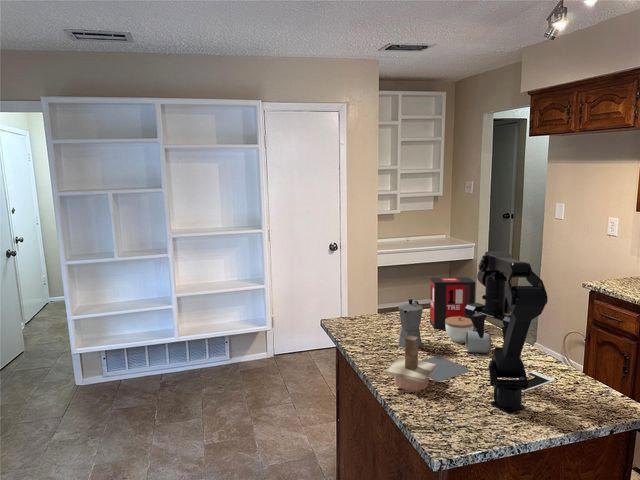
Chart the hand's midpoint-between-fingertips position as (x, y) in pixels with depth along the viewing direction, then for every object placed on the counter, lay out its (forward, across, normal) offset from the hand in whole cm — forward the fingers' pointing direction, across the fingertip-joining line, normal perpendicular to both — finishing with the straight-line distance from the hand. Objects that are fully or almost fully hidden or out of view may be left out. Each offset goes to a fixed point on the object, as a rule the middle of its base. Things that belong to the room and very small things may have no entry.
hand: (493, 342), depth 137 cm
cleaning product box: (+13, +46, -29) cm, 56 cm away
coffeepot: (+13, +38, 0) cm, 40 cm away
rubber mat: (+13, +16, +7) cm, 22 cm away
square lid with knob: (+8, +12, +22) cm, 26 cm away
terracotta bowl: (+13, +12, +22) cm, 28 cm away
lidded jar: (+13, +32, -19) cm, 40 cm away
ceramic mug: (+13, +21, -16) cm, 30 cm away
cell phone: (+14, -5, -10) cm, 18 cm away
